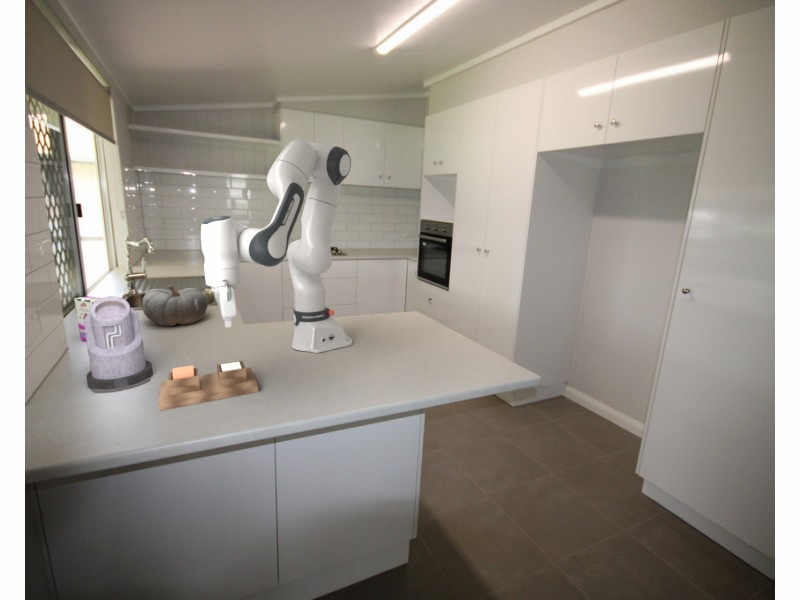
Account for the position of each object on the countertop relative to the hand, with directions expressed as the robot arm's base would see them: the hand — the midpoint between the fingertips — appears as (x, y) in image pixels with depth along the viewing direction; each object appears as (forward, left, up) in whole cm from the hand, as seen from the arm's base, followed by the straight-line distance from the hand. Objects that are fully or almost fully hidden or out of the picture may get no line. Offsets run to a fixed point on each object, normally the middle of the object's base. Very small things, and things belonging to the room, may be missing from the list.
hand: (228, 325), depth 112 cm
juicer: (+30, -25, -18) cm, 43 cm away
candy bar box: (+41, -63, -18) cm, 77 cm away
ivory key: (0, 0, -15) cm, 15 cm away
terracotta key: (+12, 0, -14) cm, 18 cm away
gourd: (+14, -78, -18) cm, 81 cm away
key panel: (+6, 0, -18) cm, 19 cm away
